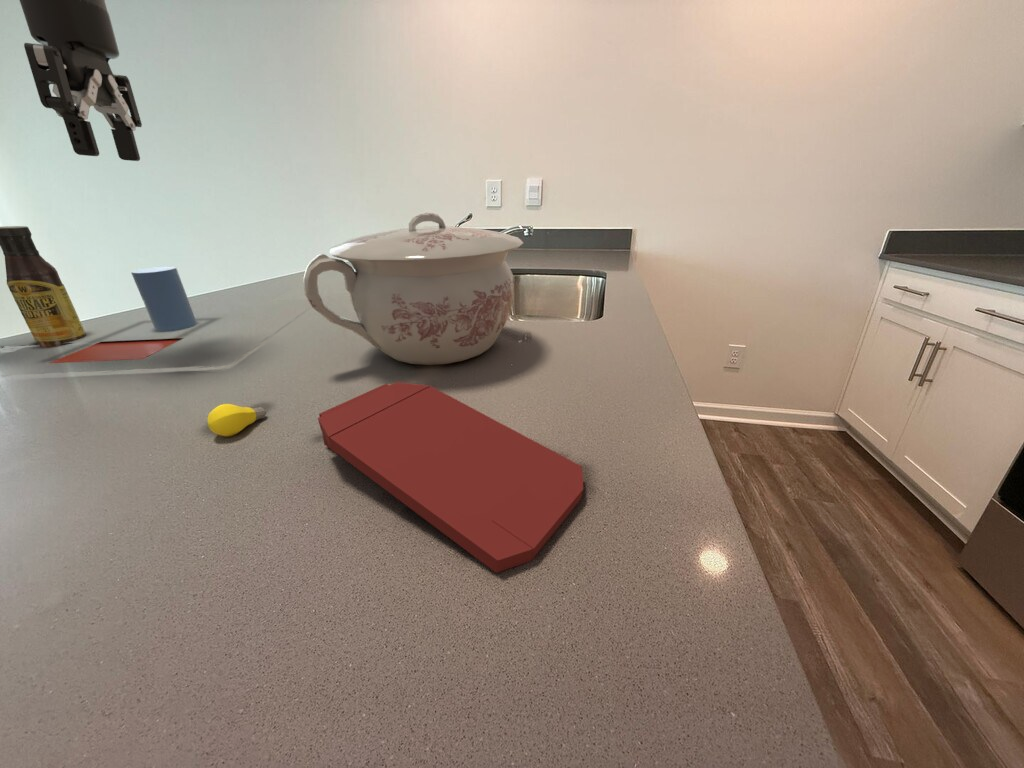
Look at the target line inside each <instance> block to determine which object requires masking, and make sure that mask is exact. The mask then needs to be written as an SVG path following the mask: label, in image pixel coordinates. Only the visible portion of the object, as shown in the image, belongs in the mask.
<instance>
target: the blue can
mask: <svg viewBox="0 0 1024 768" xmlns="http://www.w3.org/2000/svg"><path fill="white" fill-rule="evenodd" d="M130 274H131V276H132V278H133V281H134V283H135V285H136V288H137V290H138V292H139V295H140V297H141V300H142V302H143V304H144V307H145V309H146V311H147V314H148V316H149V318H150V321H151V323H152V325H153V328H154V330H155V331H156V332H159V333H167V332H176V331H182V330H185V329H189V328H192V327H194V326H197V324H198V322H197V319H196V317H195V313H194V311H193V308H192V306H191V303H190V301H189V298H188V295H187V292H186V289H185V287H184V285H183V282H182V279H181V277H180V274H179V271H178V268H177V267H176V266H156V267H147V268H140V269H135V270H132V271H131V272H130Z"/></svg>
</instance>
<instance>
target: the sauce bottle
mask: <svg viewBox="0 0 1024 768" xmlns="http://www.w3.org/2000/svg"><path fill="white" fill-rule="evenodd" d="M32 238H33V237H32V232H31V230H30V228H29V227H28V226H26V225H9V226H8V225H7V226H4V225H3V226H0V248H1V250H2V253H3V254H2V255H4V264H5V275H6V285H7V287H8V289H9V292H10V293H11V295H12V297H13V299H14V302H15V304H16V306H17V307H18V309H19V311H20V314H21V316H22V317H23V319H24V322H25V324H26V326H27V327H28V329H29V331H30V333H31V335H32V337H33V340H34V341H35V342H36V343H37V344H38V346H39V347H40V348H55V347H56V348H57V347H62V346H67V345H72V344H73V342H72V341H76V340H79V339H83V338H84V337H85V336H86V331H85V329H84V326H83V325H82V322H81V320H80V317H79V315H78V314H77V313H78V312H77V311H76V308H75V306H74V304H73V302H72V300H71V298H70V296H69V293H68V291H67V289H66V286H65V284H64V283H63V282H62V280H61V278H60V274H59V273H58V270H57V268H55V267H54V266H53V265H52V264H51V263H49V262H48V261H46V259H45V258H43V256H41V255H40V251H39V249H37V246H36V244H35V242H34V241H33V239H32Z"/></svg>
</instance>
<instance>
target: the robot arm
mask: <svg viewBox="0 0 1024 768" xmlns="http://www.w3.org/2000/svg"><path fill="white" fill-rule="evenodd" d="M19 4H20V6H21V9H22V12H23V15H24V18H25V21H26V24H27V27H28V31H29V34H30V36H31V38H32V39H33V40H35V41H36V42H37V43H30V42H24V44H23V48H24V50H25V55H26V58H27V61H28V64H29V67H30V71H31V74H32V77H33V81H34V84H35V87H36V90H37V94H38V97H39V100H40V103H41V105H42V106H43V107H44V108H46V109H52V110H53V111H55V113H56V114H57V116H58V117H60V118H62V119H63V123H64V125H65V128H66V131H67V135H68V137H69V141H70V144H71V146H72V149H73V151H74V153H75V154H77V155H79V156H88V157H98V156H99V155H100V150H99V147H98V143H97V140H96V137H95V134H94V130H93V127H92V124H91V121H88V119H89V115H90V114H89V113H90V108H91V107H92V106H93V108H94V110H95V111H96V112H98V113H100V114H102V116H104V119H105V120H106V121H107V123H108V124H109V126H110V127H111V128H110V131H111V134H112V138H113V142H114V146H115V148H116V152H117V155H118V158H120V159H121V160H122V161H131V162H139V161H140V160H141V157H140V153H139V149H138V145H137V141H136V137H135V134H134V133H135V131H136V129H137V128H142V126H143V123H142V120H141V116H140V113H139V110H138V109H139V108H138V106H137V103H136V100H135V95H134V91H133V89H132V86H131V82H130V79H129V78H128V76H127V75H123V74H122V75H121V74H114V72H113V70H112V68H111V66H110V64H109V61H110V60H115V59H118V58H119V57H120V51H119V50H120V49H119V46H118V43H117V39H116V35H115V32H114V28H113V24H112V20H111V16H110V12H109V9H108V5H107V2H106V0H19ZM50 85H53V86H52V92H51V88H50ZM52 93H53V94H54V95H55V96H52ZM128 111H129V112H128ZM129 113H130V114H129Z"/></svg>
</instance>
